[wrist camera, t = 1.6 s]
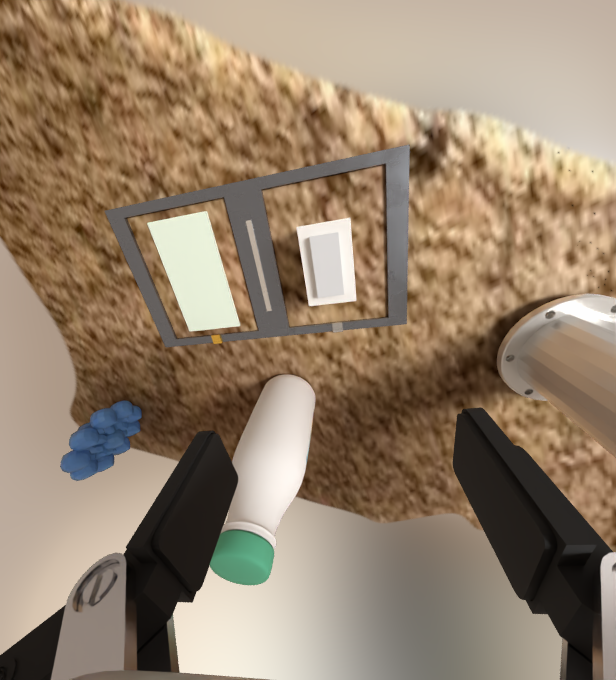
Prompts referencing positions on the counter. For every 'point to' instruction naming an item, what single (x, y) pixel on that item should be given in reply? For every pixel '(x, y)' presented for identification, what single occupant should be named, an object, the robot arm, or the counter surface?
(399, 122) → the counter surface
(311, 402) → the milk bottle
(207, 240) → the port pad
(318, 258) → the plug
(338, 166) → the two-window grey frame
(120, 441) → the grapes
